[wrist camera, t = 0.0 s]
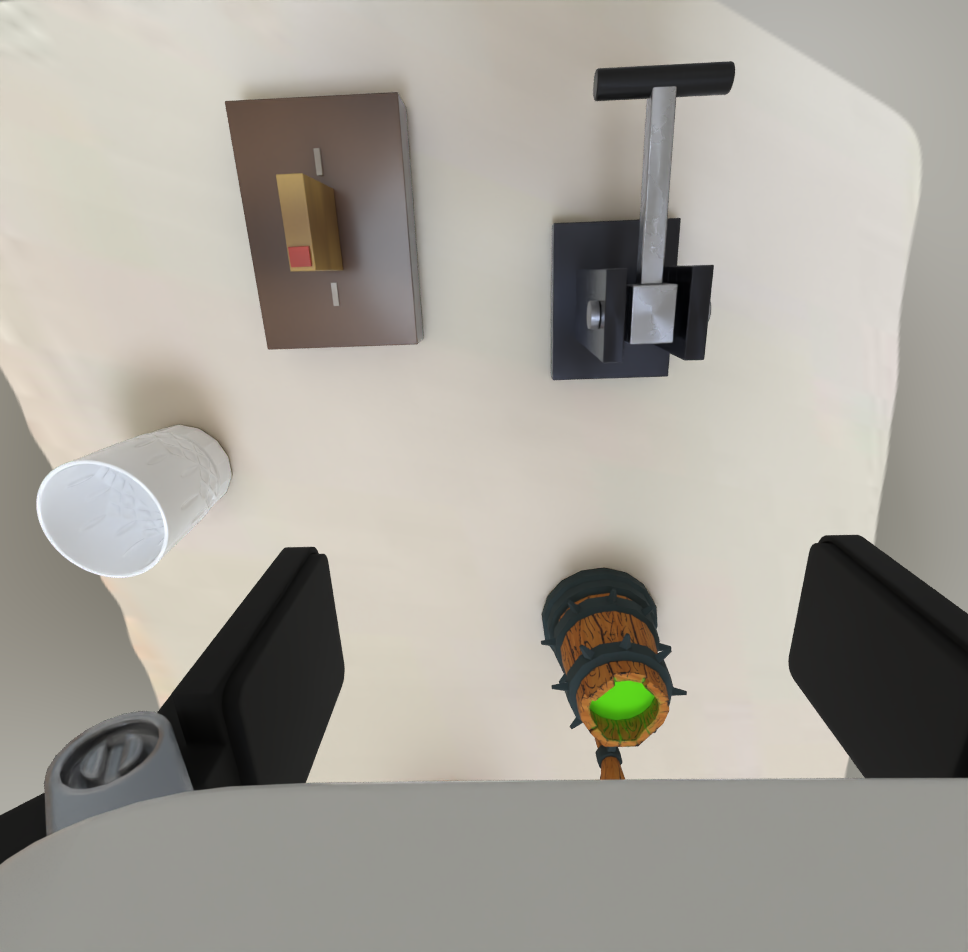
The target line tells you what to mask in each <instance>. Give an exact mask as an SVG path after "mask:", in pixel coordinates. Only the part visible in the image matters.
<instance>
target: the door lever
mask: <svg viewBox="0 0 968 952" xmlns="http://www.w3.org/2000/svg"><path fill="white" fill-rule="evenodd" d="M734 76H735V65H734V63H733V62H731V61H730V62H711V63H692V64H674V65H655V66H636V67H617V68H598V69H596V72H595V76H594V86H593V96H594V100H595V101H609V100H629V99H647V105H646V122H645V140H644V157H643V174H642V192H641V209H640V227H639V244H638V262H637V279H636V283H637V284H627V293H626V312H625V332H624V341H625V342H627V343H629V344H653V343H672V342H673V339H674V327H675V315H676V303H677V291H678V284H671V283H663V270H664V257H665V243H666V229H667V216H668V202H669V188H670V175H671V161H672V148H673V134H674V120H675V107H676V97H688V96H707V95H726V94H728V93H729V92H730V90H731V88H732V85H733V81H734Z"/></svg>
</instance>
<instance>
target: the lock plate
mask: <svg viewBox="0 0 968 952" xmlns="http://www.w3.org/2000/svg"><path fill="white" fill-rule="evenodd" d="M225 105H226V111H227V117H228V123H229V128H230V134H231V140H232V146H233V151H234V157H235V163H236V169H237V174H238V180H239V186H240V192H241V197H242V203H243V209H244V215H245V220H246V226H247V232H248V237H249V243H250V249H251V255H252V260H253V266H254V272H255V278H256V283H257V289H258V295H259V301H260V306H261V312H262V318H263V324H264V329H265V335H266V341H267V347H268V349H297V348H325V347H354V346H382V345H410V344H418V343H419V342H420V341H421V340H422V339H423V326H422V313H421V300H420V286H419V273H418V260H417V246H416V233H415V219H414V206H413V193H412V179H411V166H410V153H409V139H408V126H407V113H406V106H405V105H404V103H403V101H402V99H401V97H400V96H399V94H398V92H391V93H372V94H353V95H334V96H315V97H295V98H276V99H257V100H238V101H225ZM294 173H303V174H305V175H307V176H309V177H311V178H313V179H315V180H317V181H319V182H321V183H323V184H325V185H327V186H329V187H331V188H333V190H334V198H335V206H336V215H337V223H338V231H339V240H340V248H341V256H342V265H343V270H342V271H290V264H289V258H288V251H287V245H286V238H285V232H284V225H283V218H282V212H281V205H280V199H279V192H278V186H277V179H276V175H277V174H294Z"/></svg>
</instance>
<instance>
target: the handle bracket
mask: <svg viewBox="0 0 968 952" xmlns="http://www.w3.org/2000/svg"><path fill="white" fill-rule="evenodd" d="M680 220H681V219H680V218H669V219H667V229H666V243H665V257H664V270H663V283H671V284H678V291H677V303H676V315H675V327H674V339H673V342H672V343H653V344H629V343H627V342H625V341H624V332H625V312H626V293H627V284H637V283H636V279H637V262H638V244H639V227H640V220H623V221H600V222H576V223H554V224H553V225H552V303H551V377H552V379H553V380H571V379H601V378H632V377H662V376H668V368H669V356H670V354H672V355H674V356H677V357H679V358H681V359H683V360H704V355H705V346H706V336H707V326H708V321H709V319H710V315H711V302H710V297H711V288H712V278H713V268H714V265H691V266H677V257H678V245H679V232H680Z"/></svg>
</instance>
